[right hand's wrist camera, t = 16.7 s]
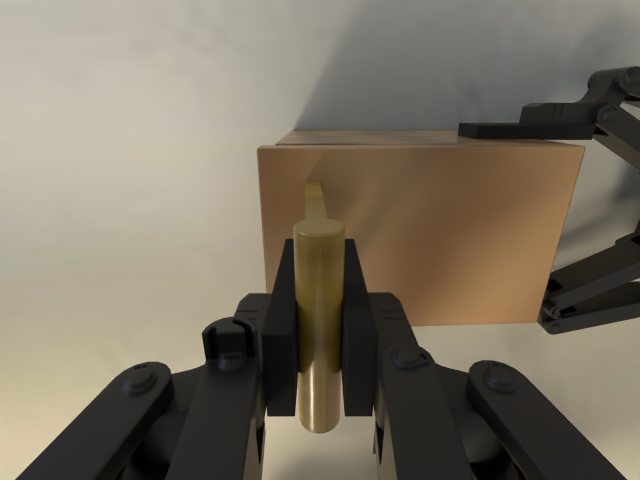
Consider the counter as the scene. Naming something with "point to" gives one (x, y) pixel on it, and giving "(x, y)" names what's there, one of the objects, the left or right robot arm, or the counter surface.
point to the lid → (411, 238)
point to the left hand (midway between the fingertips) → (454, 214)
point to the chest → (391, 138)
